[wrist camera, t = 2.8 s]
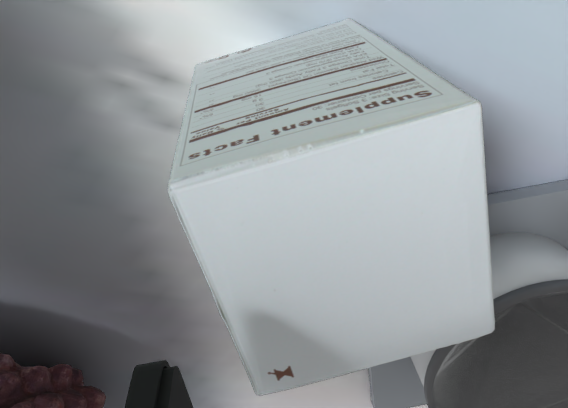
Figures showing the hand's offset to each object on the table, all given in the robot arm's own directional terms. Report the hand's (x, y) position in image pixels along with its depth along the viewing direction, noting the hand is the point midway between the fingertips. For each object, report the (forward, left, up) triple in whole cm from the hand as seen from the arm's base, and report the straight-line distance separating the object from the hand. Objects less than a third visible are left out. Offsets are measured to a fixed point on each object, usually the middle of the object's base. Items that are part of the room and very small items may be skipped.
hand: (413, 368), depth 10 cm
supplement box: (0, -1, -16) cm, 16 cm away
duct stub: (+14, +9, -16) cm, 23 cm away
